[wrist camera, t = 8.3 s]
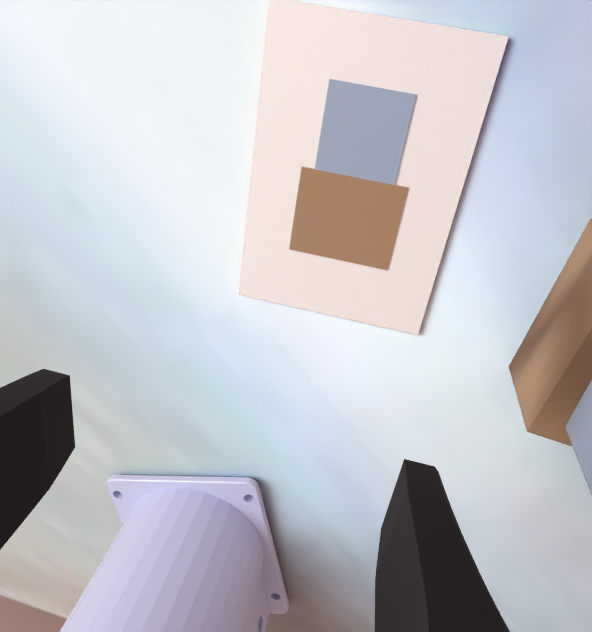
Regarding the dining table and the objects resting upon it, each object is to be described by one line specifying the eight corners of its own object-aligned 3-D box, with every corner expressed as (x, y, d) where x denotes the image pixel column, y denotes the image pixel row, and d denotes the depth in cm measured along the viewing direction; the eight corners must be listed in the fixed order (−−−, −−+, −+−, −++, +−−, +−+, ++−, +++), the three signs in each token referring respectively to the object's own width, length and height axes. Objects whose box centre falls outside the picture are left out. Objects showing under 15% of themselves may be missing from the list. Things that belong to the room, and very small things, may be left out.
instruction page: (417, 332, 20) (418, 335, 20) (239, 292, 21) (238, 295, 21) (507, 36, 15) (509, 36, 15) (271, -3, 16) (269, -3, 16)
